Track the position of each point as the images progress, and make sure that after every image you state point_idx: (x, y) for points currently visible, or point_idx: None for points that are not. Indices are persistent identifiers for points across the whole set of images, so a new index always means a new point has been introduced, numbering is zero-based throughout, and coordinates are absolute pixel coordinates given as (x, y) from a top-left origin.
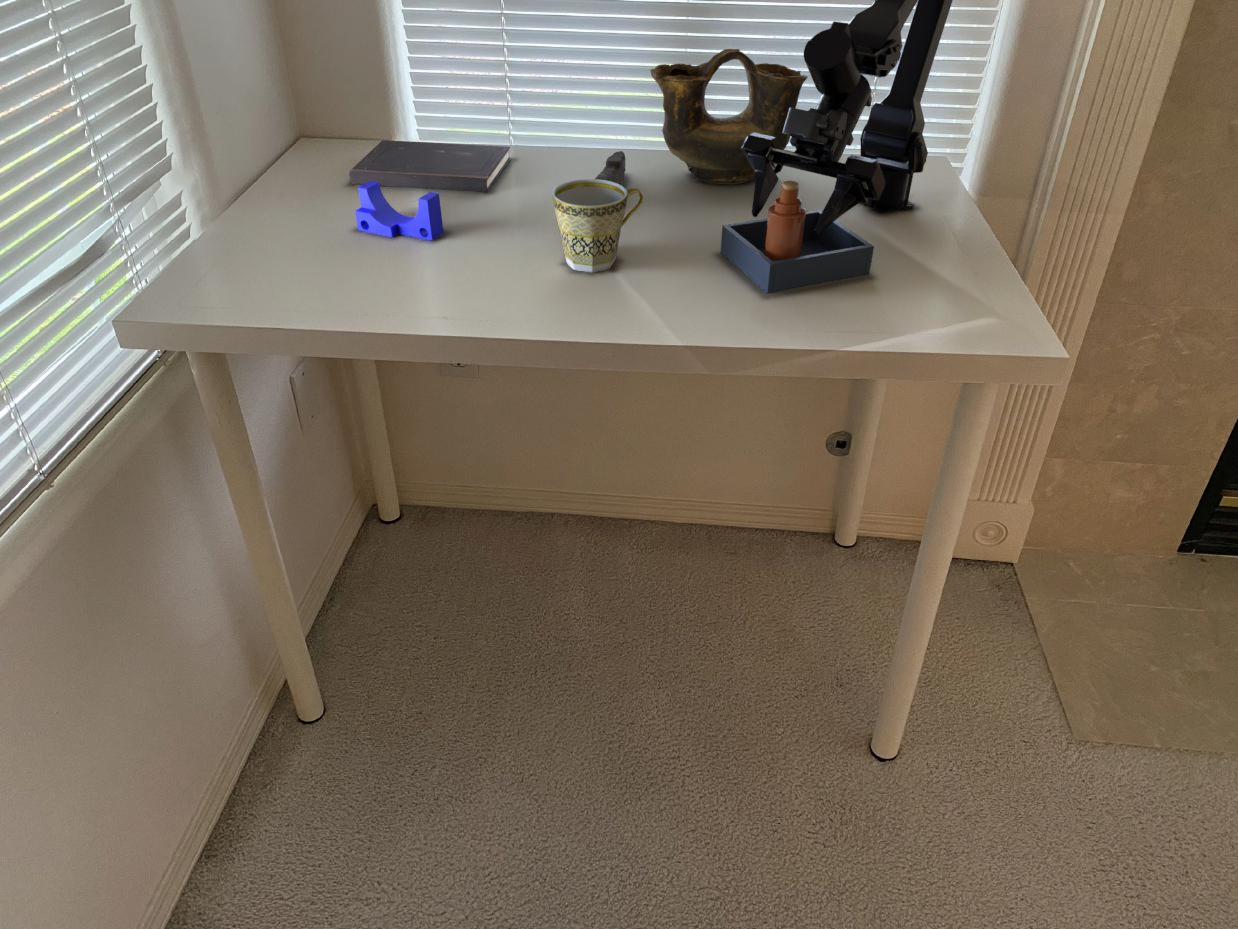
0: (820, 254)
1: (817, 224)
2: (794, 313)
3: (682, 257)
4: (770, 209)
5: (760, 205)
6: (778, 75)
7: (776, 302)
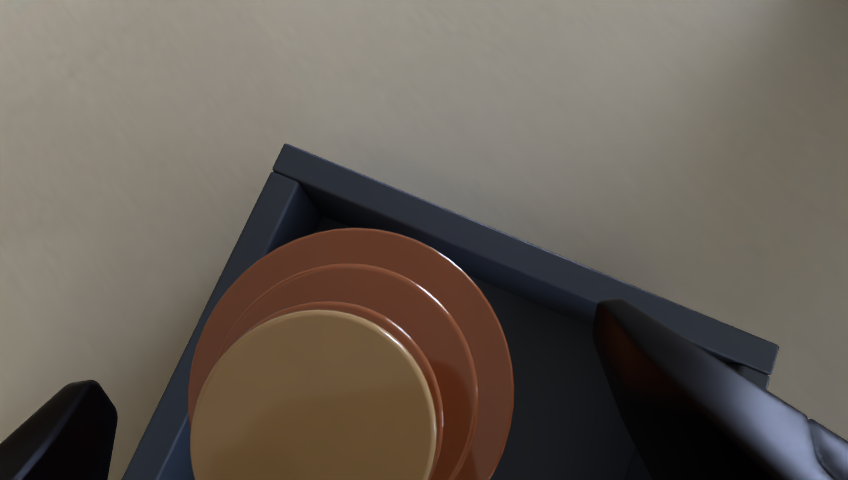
0: (157, 431)
1: (59, 409)
2: (159, 158)
3: (765, 220)
4: (460, 288)
5: (632, 392)
6: None
7: (260, 179)
